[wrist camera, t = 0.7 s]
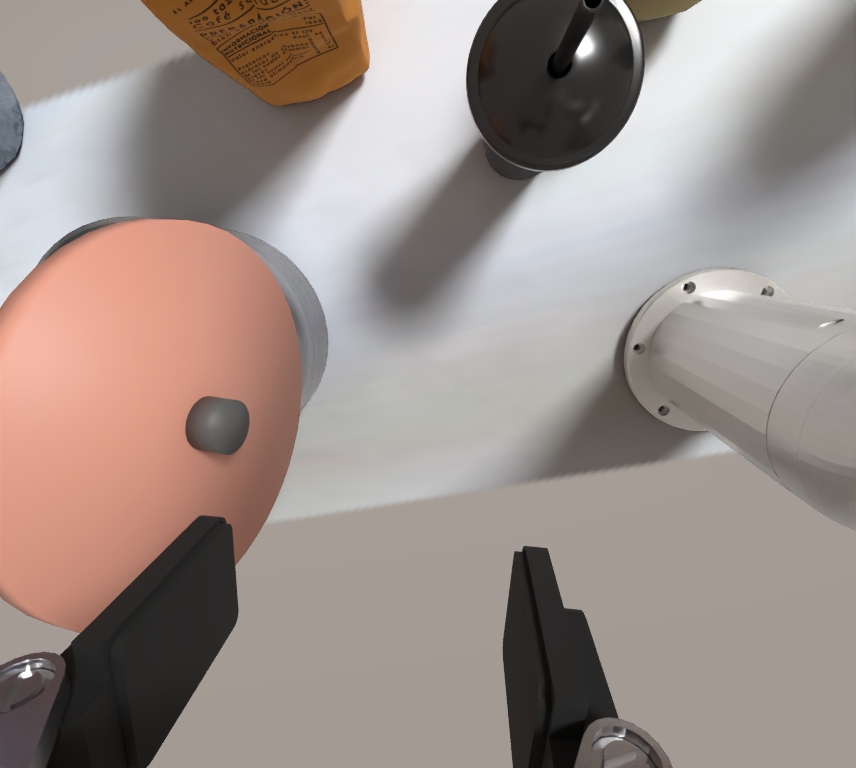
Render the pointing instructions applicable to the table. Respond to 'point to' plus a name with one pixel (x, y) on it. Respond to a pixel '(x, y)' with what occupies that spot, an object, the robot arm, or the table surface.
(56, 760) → the robot arm
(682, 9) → the squeeze bottle
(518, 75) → the drinking cup
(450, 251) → the table surface
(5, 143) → the moka pot
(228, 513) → the lid
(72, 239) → the cooker pot
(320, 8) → the coffee package
